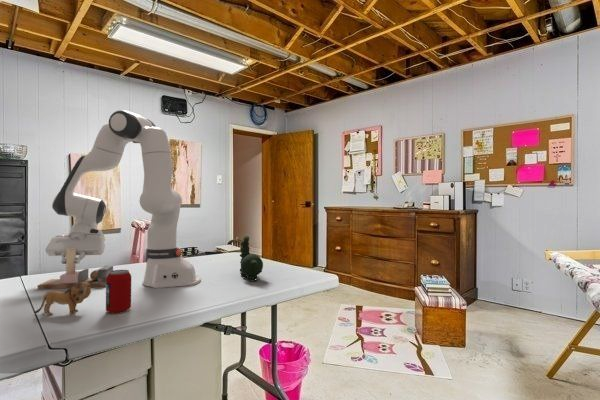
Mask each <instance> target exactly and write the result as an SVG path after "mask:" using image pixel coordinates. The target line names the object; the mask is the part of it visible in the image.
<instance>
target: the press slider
mask: <svg viewBox="0 0 600 400" xmlns="http://www.w3.org/2000/svg"><path fill="white" fill-rule="evenodd" d="M65 258H66V264H65V266H66V267H65V273H63V274H61V275H59V279H60V284H64V283H81V282H83V281H85V280H87V279H88V278H89V268H84V269H82V270H77V271H76V265H77V264H75V263H74V260H75V258H77V255H76V248H67V250H66V257H65Z"/></svg>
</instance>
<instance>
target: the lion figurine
mask: <svg viewBox="0 0 600 400" xmlns="http://www.w3.org/2000/svg"><path fill="white" fill-rule="evenodd" d="M91 293H92V287H90V284H89V283H87V282H81V283H79V284H77V285H75V286H74V287H72V288H67V290H66V291H59V290H50V291H47V292H46V293H45V295H44V297H43V299H42V302H41V305H40V306H39V308H38V309H37V310H35V311H34V312H33V313H34V314H38V313H39V312H41V310H42V309H43V312H44V313H46V314H47V316H48V317H50V316H53V315H54V313H53V312H51V311H50V308H51V306H52V305H53V304H55V303H56V304H58V305H63V306H65V305H68V309H69V315H70V316H74V315H76V313H77V312H79V310H78V309H77V305H78V304H82V302H84V300H86V299H87V298H89V297H90V295H91ZM43 307H44V308H43Z"/></svg>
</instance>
